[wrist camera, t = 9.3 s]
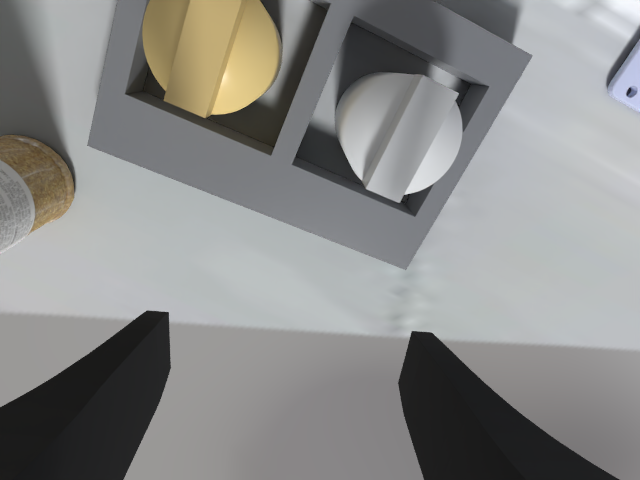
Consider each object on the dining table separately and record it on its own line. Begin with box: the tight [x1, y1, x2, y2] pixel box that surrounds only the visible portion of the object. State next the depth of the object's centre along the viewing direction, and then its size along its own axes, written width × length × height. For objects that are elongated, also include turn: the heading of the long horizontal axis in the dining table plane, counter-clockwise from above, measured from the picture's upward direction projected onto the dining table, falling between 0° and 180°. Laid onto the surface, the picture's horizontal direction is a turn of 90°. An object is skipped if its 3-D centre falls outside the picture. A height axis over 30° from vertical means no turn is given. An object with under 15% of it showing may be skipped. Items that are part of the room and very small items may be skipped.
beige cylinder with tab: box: [142, 0, 282, 118], centre depth 15 cm, size 4×4×6 cm
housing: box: [87, 0, 532, 270], centre depth 18 cm, size 16×11×2 cm
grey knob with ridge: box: [335, 72, 463, 203], centre depth 17 cm, size 4×4×6 cm
